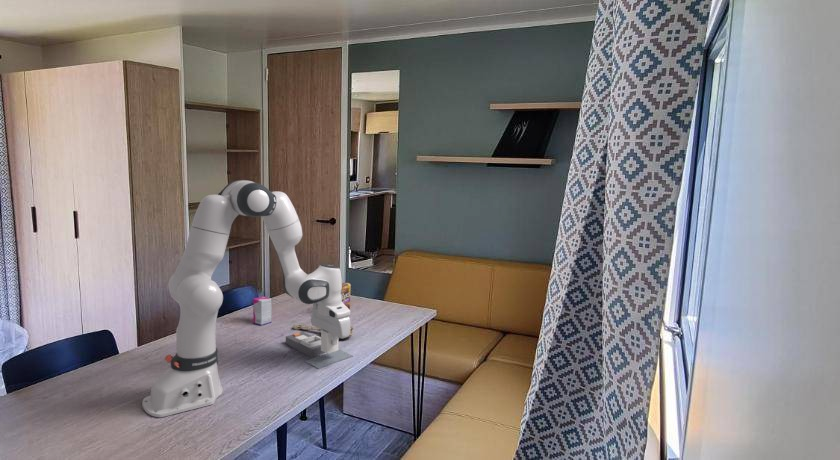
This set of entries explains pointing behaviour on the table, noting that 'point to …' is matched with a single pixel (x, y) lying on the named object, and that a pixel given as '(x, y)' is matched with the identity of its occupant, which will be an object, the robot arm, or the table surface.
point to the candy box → (346, 294)
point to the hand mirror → (316, 328)
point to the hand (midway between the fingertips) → (329, 342)
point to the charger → (327, 342)
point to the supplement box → (262, 311)
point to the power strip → (305, 343)
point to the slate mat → (328, 359)
